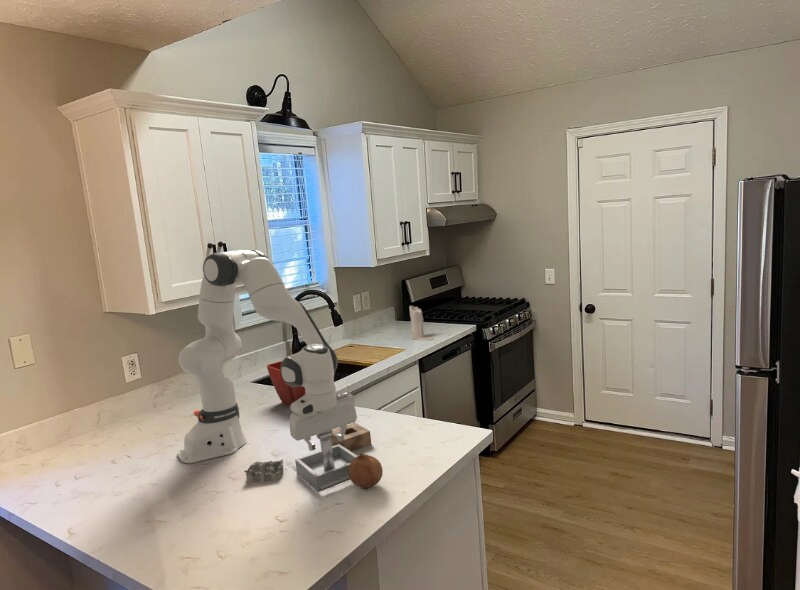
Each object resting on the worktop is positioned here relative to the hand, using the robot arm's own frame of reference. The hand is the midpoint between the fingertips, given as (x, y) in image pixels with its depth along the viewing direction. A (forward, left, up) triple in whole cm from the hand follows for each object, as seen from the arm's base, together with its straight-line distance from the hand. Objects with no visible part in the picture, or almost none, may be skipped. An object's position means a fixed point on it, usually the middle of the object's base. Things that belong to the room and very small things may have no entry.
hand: (326, 444), depth 159 cm
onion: (+4, -15, -9) cm, 18 cm away
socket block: (+13, +11, -9) cm, 19 cm away
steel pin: (0, 0, -8) cm, 8 cm away
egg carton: (-15, +13, -10) cm, 22 cm away
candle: (+119, +116, -9) cm, 166 cm away
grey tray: (0, 0, -9) cm, 9 cm away
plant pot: (+20, +68, -9) cm, 71 cm away
